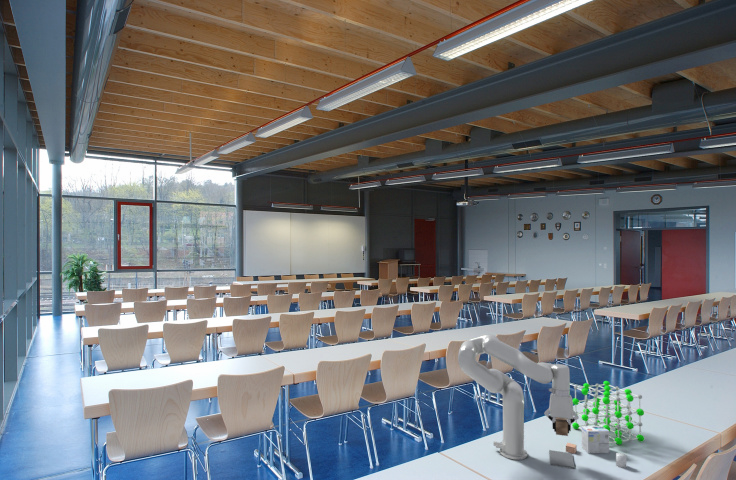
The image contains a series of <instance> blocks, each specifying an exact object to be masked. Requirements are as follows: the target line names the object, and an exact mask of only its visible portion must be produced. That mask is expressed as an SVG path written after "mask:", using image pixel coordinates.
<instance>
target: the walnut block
mask: <svg viewBox="0 0 736 480" xmlns="http://www.w3.org/2000/svg"><path fill="white" fill-rule="evenodd" d="M555 421H556V432H555V435H556V436H557V435H558V436H565V437H569V433H568V420H567V419H564V418H556V419H555Z"/></svg>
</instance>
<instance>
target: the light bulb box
mask: <svg viewBox="0 0 736 480" xmlns="http://www.w3.org/2000/svg"><path fill="white" fill-rule="evenodd" d="M603 426H604V425H603ZM603 426H595V425H589V426H580V428H581V429H580V430H581V449H583V450H584V451H585V452H586V453H587V454H610V443H609V442H610V437H609V435H610V431H609V430H607V429H606V428H604V427H603Z"/></svg>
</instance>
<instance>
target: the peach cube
mask: <svg viewBox="0 0 736 480" xmlns="http://www.w3.org/2000/svg"><path fill="white" fill-rule="evenodd" d="M577 446H578V445H577V444H575V443H571V442H567V443H566V445H565V452H566V453H572V454H576V453H577V450H578V449H577Z"/></svg>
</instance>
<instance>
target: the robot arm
mask: <svg viewBox="0 0 736 480" xmlns="http://www.w3.org/2000/svg"><path fill="white" fill-rule="evenodd" d="M483 354H487V355H488V356H490V357H492V358H494V359H496V360H497V361H500V362H502V363H505V364H506V365H509V366H510V367H511V368H513V369H514V370H516V371H518V372H519V373H521V374H522V375H524V376H526V377H528V378H530V379H531V380H533V381H535V382H537V383H540V384H549V383H551V387H550V388H548V392H551V393H550V396H549V397H550V398H549V407H548V408H547V409H546V410H545V411H544V416H546V418H548V419H549V420H550V421H551V422H552V423H551V425H552V429H553V430H554V432H555V433H556V421H555V419H556V418H564V419H567V422H568V434H570V432H572V431H571V429H572V427H571V425H572V424H573V423H575V420H579V415H577V414H576V413H575V411H574V404H573V401H572V400H573V397H572V395H571V394H570V393H571V389H570V388H571V385H570V381H571V379H570V368H569V366H568V365H566V364H561V363H556V364H554V363H549V362H543V361H541V362H535V361H533V360H531V359H530V358H529V357H527V356H526V355H525V354H524V353H523V352H522V351H521V350H519V349H518V348H515V347H513V346H511V345H509V344H508V343H505V342H504V341H501V340H500V338H498V337H497V335H495V334H486V335H481V336H479V337H475V338H472V339H468V340H465V341H463V342H462V344H461V345H460V348H459V349H458V356H457V362H458V365H459V368H460V370H461V371H462V372H463V373H464V374H465V375H466V376H468V377H470V379H472V380H473V381H475V383H477V384H479V385H480V386H481V387H483V388H484V389H485V390H487V391H488V392H490V393H491V394H500V395H502V441H500V442H498V441H493V446H495V449H499V453H500V455H501V456H503V457H504V458H507V459H511V460H515V461H516V460H519V461H520V460H524V459H526V458H528V451H527V450H526V449H525V430H524V429H525V419H524V418H525V416H524V415H525V397H524V396H525V395H524V391H523V388H522V385H520V384H519V383H518V382H517V381H516V380H514V379H512V378H511V377H510V376H508V375H507V374H505V373H504V372H502V371H501V370H499V369H497V368H488V367H487V366H485V365H484V364H482V363H480V362H478V361H477V359H476V358H477V356H479V355H483Z"/></svg>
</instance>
